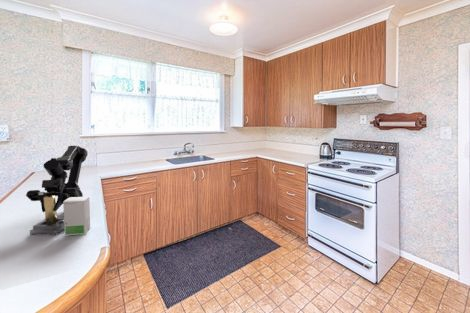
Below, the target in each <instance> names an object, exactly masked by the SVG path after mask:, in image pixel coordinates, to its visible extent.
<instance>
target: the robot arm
mask: <svg viewBox="0 0 470 313" xmlns="http://www.w3.org/2000/svg"><path fill="white" fill-rule="evenodd" d="M88 154H89V152H88V150H87V149H86V148H84V147H80V146H79V145H68V146H67V149H66V150H65V152H64V153H63V155H62V156H60V157H57V158H56V157H52V158H51V157H50V159H49V160H47V161H46V162H44V163H43V168H44V170H45V171H46V172H47V174H48V175H49V176H50V179H43V180H42V181H41V182H42V183H41V188H43V189H44V190H43V191H41V190H40V189H34V190H27V191H26V194H25V197H27V198H28V199H29V200H30V201H31V202H38V201H39V202H40V205H41V211H42V213H45V209H44V199H43V197H45V196H49V195H55V197H57V199H56V205H55V208H54V211H56V212H57V211H58V210H59V208H60V207H61V206H63V201H65V200H66V199H68V198H69V197H84V194H83V192H82V191H81V187H80V185H79V184H78V183H79V178H80V173H81V169H82V164H83V163H84V162H85V161H86V159H87V157H88ZM67 171H69V173H67ZM68 174H69V175H68ZM66 180H67V182H66Z"/></svg>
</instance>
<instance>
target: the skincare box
mask: <svg viewBox="0 0 470 313" xmlns="http://www.w3.org/2000/svg"><path fill="white" fill-rule="evenodd" d="M62 206H63V218H64V236H65V237H66V236H77V235H79V234H80V235H86V234H87V233H88V232H89V231H90V229H91V211H90V210H91V209H90V207H91V206H90V196H83V197H69V198H68V199H66V200H65V201H63V204H62ZM87 231H88V232H87ZM80 235H79V236H80Z"/></svg>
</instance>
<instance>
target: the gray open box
mask: <svg viewBox="0 0 470 313" xmlns="http://www.w3.org/2000/svg"><path fill="white" fill-rule="evenodd" d="M63 229H64V217H57V223H55V224H54V225H46V219H44V220H41V221H40V222H38V223H36V224H34V225H32V228H31V229H30V230H29V235H30V236H55V235H57V234H59V233H60V232H62V231H63ZM61 230H62V231H61ZM64 230H65V229H64ZM59 231H60V232H59ZM58 232H59V233H58ZM56 233H57V234H56Z"/></svg>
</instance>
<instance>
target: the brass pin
mask: <svg viewBox="0 0 470 313" xmlns="http://www.w3.org/2000/svg"><path fill="white" fill-rule="evenodd" d="M43 199H44V209H45V212H44V216H45V217H44V220H46V225H54V224H55V223H57V218H58V214H57V211H54V208H55V205H56V202H57V200H56V196H55V195H49V196H45V197H43Z"/></svg>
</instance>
